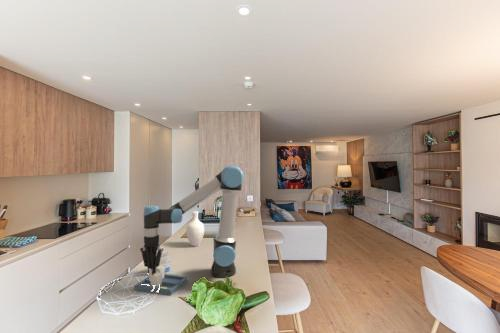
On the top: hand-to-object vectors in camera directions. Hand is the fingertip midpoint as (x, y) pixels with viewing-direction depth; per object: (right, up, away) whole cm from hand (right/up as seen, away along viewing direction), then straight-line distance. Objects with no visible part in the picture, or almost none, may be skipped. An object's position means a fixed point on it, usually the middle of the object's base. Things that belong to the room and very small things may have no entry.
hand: (151, 279), depth 130 cm
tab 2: (+1, -3, +8) cm, 8 cm away
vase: (+7, -5, +72) cm, 72 cm away
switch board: (+4, -4, +3) cm, 7 cm away
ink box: (-2, -5, +20) cm, 21 cm away
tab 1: (+3, -3, -1) cm, 4 cm away
